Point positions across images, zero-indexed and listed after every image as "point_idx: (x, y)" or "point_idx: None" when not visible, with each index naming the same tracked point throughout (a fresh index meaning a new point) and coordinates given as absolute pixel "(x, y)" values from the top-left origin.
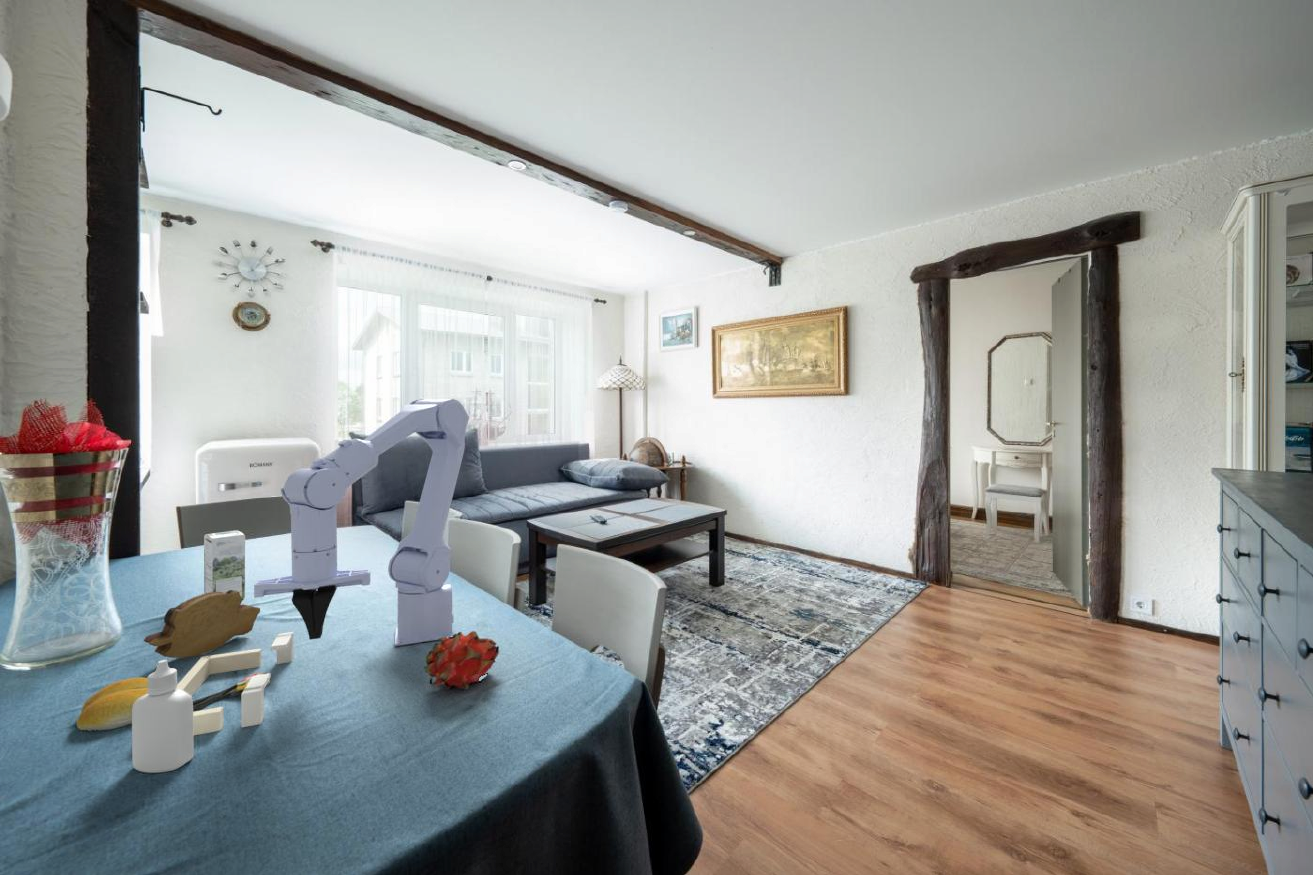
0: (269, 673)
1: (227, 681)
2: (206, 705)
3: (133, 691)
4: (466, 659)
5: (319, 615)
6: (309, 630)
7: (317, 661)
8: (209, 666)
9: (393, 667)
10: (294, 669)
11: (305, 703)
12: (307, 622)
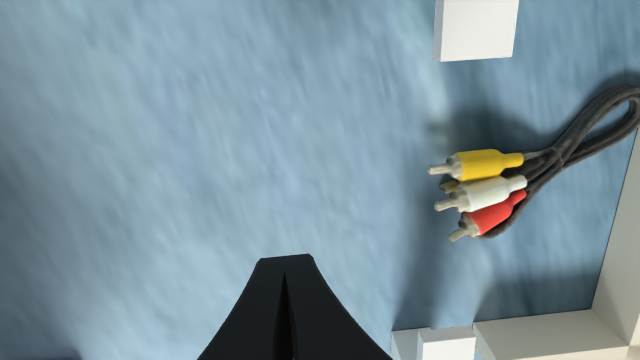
0: (444, 57)
1: (543, 256)
2: (582, 112)
3: None
4: None
5: (237, 354)
6: (313, 280)
7: None
8: (608, 326)
9: (21, 208)
10: (372, 282)
11: (276, 7)
12: (329, 311)
